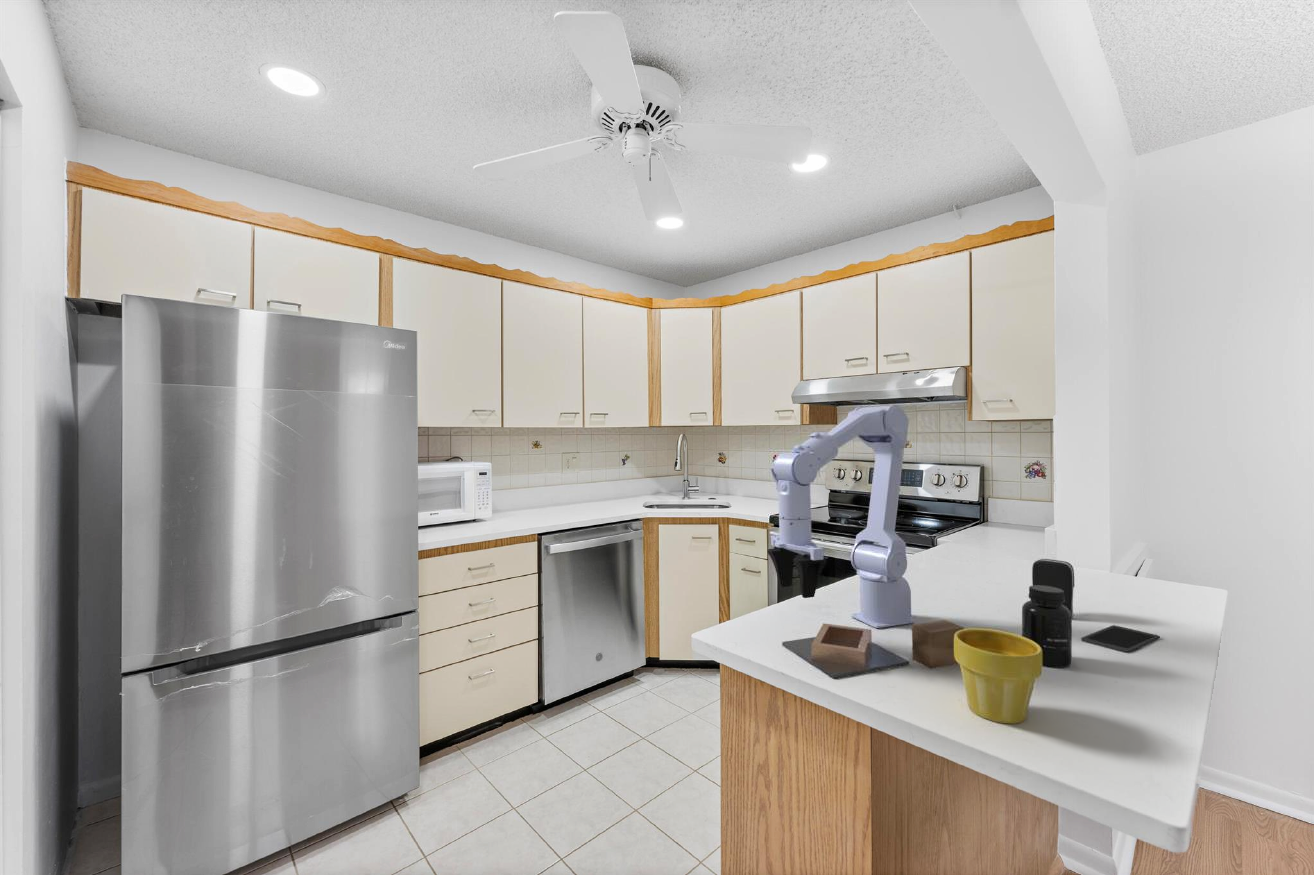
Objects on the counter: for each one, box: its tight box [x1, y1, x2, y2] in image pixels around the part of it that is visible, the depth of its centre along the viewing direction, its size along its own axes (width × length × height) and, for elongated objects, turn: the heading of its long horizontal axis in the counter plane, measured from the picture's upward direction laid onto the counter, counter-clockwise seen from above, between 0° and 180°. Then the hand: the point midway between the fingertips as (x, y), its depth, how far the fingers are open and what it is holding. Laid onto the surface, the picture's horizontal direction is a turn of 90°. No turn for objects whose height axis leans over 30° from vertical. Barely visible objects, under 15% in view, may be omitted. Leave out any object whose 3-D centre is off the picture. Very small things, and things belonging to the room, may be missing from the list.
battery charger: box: [1031, 558, 1075, 619], centre depth 115 cm, size 7×4×11 cm, turn 43°
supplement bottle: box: [1021, 584, 1073, 668], centre depth 92 cm, size 7×7×12 cm
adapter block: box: [911, 619, 965, 670], centre depth 92 cm, size 4×7×6 cm, turn 108°
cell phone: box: [1080, 624, 1161, 654], centre depth 101 cm, size 7×14×1 cm, turn 120°
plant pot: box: [954, 627, 1043, 725], centre depth 75 cm, size 10×10×10 cm
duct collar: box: [781, 623, 911, 680], centre depth 96 cm, size 15×15×3 cm
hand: (796, 591), depth 101 cm, fingers open, 7 cm apart
